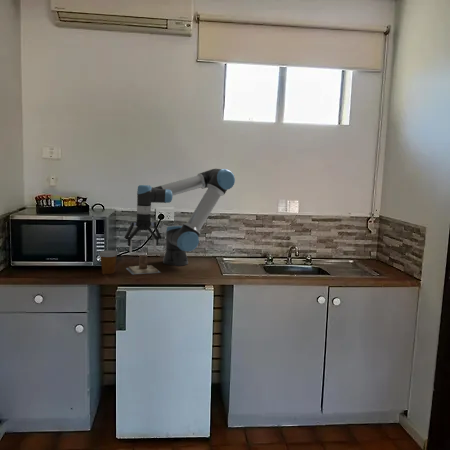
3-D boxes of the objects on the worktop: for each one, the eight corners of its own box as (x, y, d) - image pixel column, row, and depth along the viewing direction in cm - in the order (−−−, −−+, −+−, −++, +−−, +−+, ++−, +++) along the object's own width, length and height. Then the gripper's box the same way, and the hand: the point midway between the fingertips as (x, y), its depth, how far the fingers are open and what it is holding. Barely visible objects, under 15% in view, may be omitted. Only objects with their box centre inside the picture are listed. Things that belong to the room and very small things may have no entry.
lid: (151, 267, 270) (151, 253, 269) (157, 272, 259) (158, 257, 258) (128, 268, 265) (129, 254, 264) (134, 273, 253) (134, 258, 252)
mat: (153, 267, 272) (153, 266, 272) (161, 273, 258) (161, 272, 258) (125, 269, 265) (125, 268, 265) (132, 275, 252) (132, 274, 252)
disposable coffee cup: (112, 276, 249) (112, 253, 248) (96, 274, 251) (96, 252, 250) (120, 272, 258) (120, 250, 257) (104, 270, 260) (104, 249, 259)
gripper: (122, 214, 249) (121, 253, 252) (167, 214, 259) (166, 251, 262) (119, 212, 256) (118, 250, 258) (163, 212, 266) (162, 249, 269)
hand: (142, 251), depth 260 cm, fingers open, 13 cm apart
